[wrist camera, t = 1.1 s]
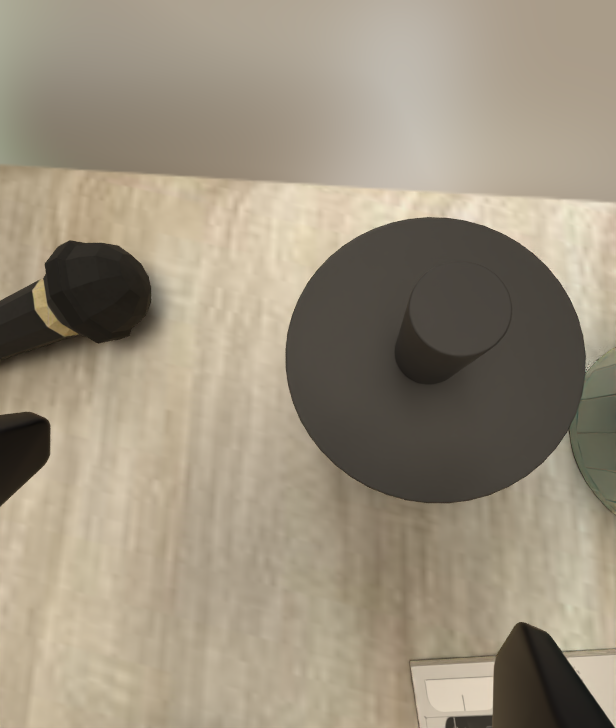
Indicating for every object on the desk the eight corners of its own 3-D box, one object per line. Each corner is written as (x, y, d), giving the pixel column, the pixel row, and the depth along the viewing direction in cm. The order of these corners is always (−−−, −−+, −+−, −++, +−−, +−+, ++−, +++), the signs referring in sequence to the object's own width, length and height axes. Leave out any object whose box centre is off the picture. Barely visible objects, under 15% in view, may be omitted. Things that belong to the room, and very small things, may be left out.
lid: (565, 531, 15) (704, 599, 9) (264, 469, 17) (203, 490, 11) (591, 236, 17) (725, 118, 11) (312, 211, 19) (284, 98, 13)
